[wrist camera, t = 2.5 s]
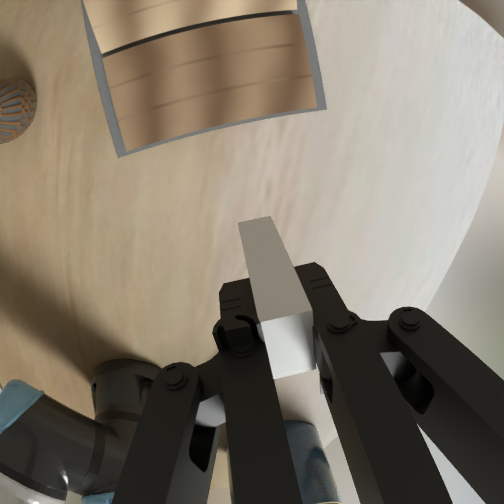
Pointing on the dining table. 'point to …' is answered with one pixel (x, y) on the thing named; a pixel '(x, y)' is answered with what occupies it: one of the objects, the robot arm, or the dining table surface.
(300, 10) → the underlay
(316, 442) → the planter
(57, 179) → the dining table surface
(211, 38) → the laid board
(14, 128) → the vase
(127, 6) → the plank
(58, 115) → the dining table surface
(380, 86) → the dining table surface
